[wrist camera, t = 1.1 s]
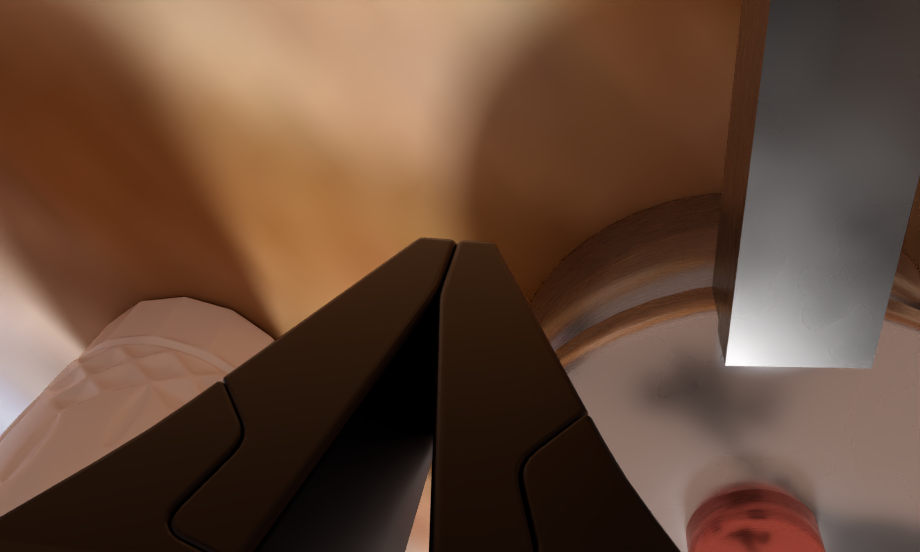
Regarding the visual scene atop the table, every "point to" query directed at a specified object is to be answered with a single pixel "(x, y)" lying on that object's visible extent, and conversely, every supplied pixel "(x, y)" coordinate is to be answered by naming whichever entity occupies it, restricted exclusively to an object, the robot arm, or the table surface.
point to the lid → (786, 307)
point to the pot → (649, 267)
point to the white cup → (122, 389)
